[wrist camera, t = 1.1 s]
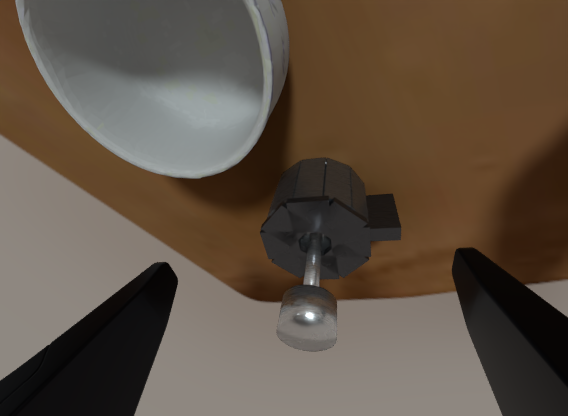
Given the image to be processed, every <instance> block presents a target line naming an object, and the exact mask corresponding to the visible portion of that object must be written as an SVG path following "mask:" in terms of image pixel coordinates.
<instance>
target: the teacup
mask: <svg viewBox="0 0 568 416" xmlns="http://www.w3.org/2000/svg"><path fill="white" fill-rule="evenodd" d="M15 1H16V6H17V11H18V16H19V21H20V24H21V26H22V30H23V33H24V36H25V40H26V42H27V45H28V47H29V50H30V52H31V54H32V56H33V58H34V60H35V62H36V64H37V67H38V69H39V71H40V73H41V74H42V76H43V78H44V80H45V81H46V83H47V85H48V86H49V88H50V89H51V91H52V92H53V93H54V95H55V96H56V98H57V99H58V100H59V102H60V103H61V104H62V106H63V107H64V108H65V110H66V111H67V112H68V113H69V114H70V115H71V116H72V117H73V118H74V119H75V121H76V122H77V123H78V124H79V125H80V126H81V127H82V128H83V129H84V130H85V131H86V132H88V133H89V134H90V135H91V136H92V137H93V138H94V139H95V140H97V141H98V142H99V143H100V144H101V145H103V146H104V147H105V148H107V149H108V150H110V151H111V152H112V153H114V154H116V155H117V156H119V157H120V158H122V159H124V160H126V161H128V162H130V163H131V164H133V165H135V166H138V167H140V168H143V169H145V170H148V171H151V172H154V173H157V174H162V175H166V176H171V177H176V178H202V177H207V176H212V175H215V174H218V173H221V172H223V171H226V170H228V169H230V168H231V167H233V166H235V165H236V164H238V163H239V162H240V161H241V160H242V159H243V158H244V157H245V156H246V155H247V154H248V153H249V152H250V151H251V149H252V148H253V147H254V145H255V144H256V143H257V141H258V139H259V138H260V136H261V134H262V132H263V130H264V128H265V126H266V123H267V120H268V118H269V116H270V114H271V113H272V111H273V109H274V107H275V105H276V103H277V101H278V99H279V96H280V94H281V92H282V89H283V86H284V83H285V79H286V75H287V70H288V62H289V34H288V27H287V21H286V17H285V12H284V9H283V5H282V2H281V0H15Z"/></svg>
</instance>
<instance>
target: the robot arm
mask: <svg viewBox="0 0 568 416" xmlns="http://www.w3.org/2000/svg"><path fill="white" fill-rule="evenodd" d="M452 275H453V279H454V283H455V287H456V290H457V294H458V297H459V301H460V305H461V308H462V312H463V315H464V319H465V322H466V326H467V329H468V331H469V334H470V337H471V339H472V342H473V344H474V347H475V349H476V352H477V354H478V357H479V359H480V361H481V364H482V366H483V369H484V371H485V373H486V376H487V378H488V381H489V383H490V386H491V388H492V391H493V393H494V396H495V398H496V400H497V403H498V405H499V408H500V410H501V413H502V415H503V416H568V317H566V316H565V315H564V314H562V313H561V312H560V311H558V310H557V309H556V308H554V307H553V306H552V305H550V304H549V303H548V302H546V301H545V300H544V299H542V298H541V297H540V296H538V295H537V294H536V293H534V292H533V291H532V290H530V289H529V288H528V287H526V286H525V285H524V284H522V283H521V282H520V281H518V280H517V279H516V278H514V277H513V276H511V275H510V274H509V273H507V272H506V271H505V270H503V269H502V268H501V267H499V266H498V265H497V264H495V263H494V262H493V261H491V260H490V259H489V258H487V257H486V256H485V255H483V254H482V253H481V252H479V251H478V250H477V249H475V248H472V247H470V248H458V249H456V251H455V255H454V261H453V266H452ZM177 285H178V278H177V276H176V274H175V273H174V271H173V270H172V268H171V267H170V265H169V264H168V263H166V262H157V263H154V264H153V265H151V266H150V267H149V268H147V269H146V270H145V271H144V272H142V273H141V274H140V275H138V276H137V277H136V278H134V279H133V280H132V281H131V282H129V283H128V284H127V285H125V286H124V287H123V288H121V289H120V290H119V291H118V292H116V293H115V294H114V295H112V296H111V297H110V298H109V299H107V300H106V301H105V302H103V303H102V304H101V305H100V306H98V307H97V308H96V309H94V310H93V311H92V312H90V313H89V314H88V315H86V316H85V317H84V318H83V319H81V320H80V321H79V322H77V323H76V324H75V325H73V326H72V327H71V328H70V329H68V330H67V331H66V332H64V333H63V334H62V335H61V336H59V337H58V338H57V339H55V340H54V341H53V342H52V343H51V344H50V345H47V346H46V347H45V348H44V349H42V350H41V351H40V352H38V353H37V354H36V355H35V356H33V357H32V358H31V359H29V360H28V361H27V362H25V363H24V364H23V365H21V366H20V367H19V368H17V369H16V370H15V371H13V372H12V373H10V374H9V375H8V376H6V377H5V378H3V379H2V380H1V381H0V416H134V414H135V411H136V408H137V406H138V403H139V400H140V398H141V395H142V392H143V390H144V387H145V384H146V381H147V379H148V376H149V373H150V370H151V368H152V365H153V362H154V360H155V357H156V354H157V351H158V349H159V346H160V343H161V341H162V337H163V335H164V332H165V329H166V326H167V323H168V320H169V316H170V312H171V308H172V304H173V300H174V297H175V292H176V289H177Z"/></svg>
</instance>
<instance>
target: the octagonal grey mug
mask: <svg viewBox="0 0 568 416" xmlns="http://www.w3.org/2000/svg"><path fill="white" fill-rule="evenodd" d="M313 232H320V233H322V234H323V235H325V236H327V237H328V238H330V239H331V245H330V246H329V247H328V248H327V249H325V250H324V251H321V263H320V277H319V279H339V275H340V276H342V277H343V278H344V277H345V276H347V275H348V274H350V273H351V272H353V271H354V270H355V269H357V268H358V267H360V266H361V265H362V264H364V263H365V262H367V261H368V260H369V257H371V245H370V241H388V240H401V225H400V221H399V217H398V213H397V209H396V205H395V201H394V197H393V194H382V195H368V196H366V194H365V186H364V183H363V182H362V180H361V179H360V178H359V177H358V175H357V174H356V173H355V172H354V170H353V169H352V168H351V167H350V168H349V166H348V165H345V164H343V163H340V162H337V161H335V160H332V159H329V158H327V159H326V157H325V158H316V159H307V160H302V162H301V161H299V162H298V163H296V164H295V165H293V166H292V167H290V168H289V169H288V170H286V171H285V172H283V174H282V175H281V178H280V181H279V183H278V186H277V188H276V191H275V194H274V197H273V201H272V204H271V207H270V210H269V213H268V216H267V219H266V221H265V222H264V223H263V224H262V226H261V231H260V234H261V237H262V240H263V243H264V246H265V249H266V252H267V255H268V258H269V259H272V263H274V264H276V265H278V266H279V267H281V268H283V269H285V270H287V271H288V272H290V273H292V274H294V275H295V276H297V277H299V278H301V277H302V276H303V275H304V276H305V268H306V260H307V252H308V249H307V248H306V247H304V246H302V245H301V242H300V238H301V237H302V236H303V235H304V234H305V233H313Z"/></svg>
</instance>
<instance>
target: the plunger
mask: <svg viewBox="0 0 568 416" xmlns="http://www.w3.org/2000/svg"><path fill="white" fill-rule="evenodd" d="M300 242H301V245H302V246H304V247H306V248H307V249H308V252H307V260H306V268H305V276H304V284H303V285H297V286H294V287H291V288H289V289H288V290H287V291H286V292H285V293H284V295H283V299H282V305H281V311H280V316H279V321H278V326H277V335H278V337H279V339H280V340H281V341H282V342H284V343H285V344H287V345H288V346H290V347H293V348H295V349H299V350H303V351H323V350H327V349H329V348H331V347H332V346H334V344H335V343H336V340H337V337H336V336H337V301H336V298H335V297H334V295H333V294H332V293H330V292H329V291H327V290H326V289H324V288H321V287H319V277H320V263H321V251H324V250H325V249H327V248H328V247H329V246H330V245H331V239H330V238H328V237H327V236H325V235H323V234H322V233H320V232H313V233H305V234H304V235H303V236H302V237H301V238H300Z"/></svg>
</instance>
